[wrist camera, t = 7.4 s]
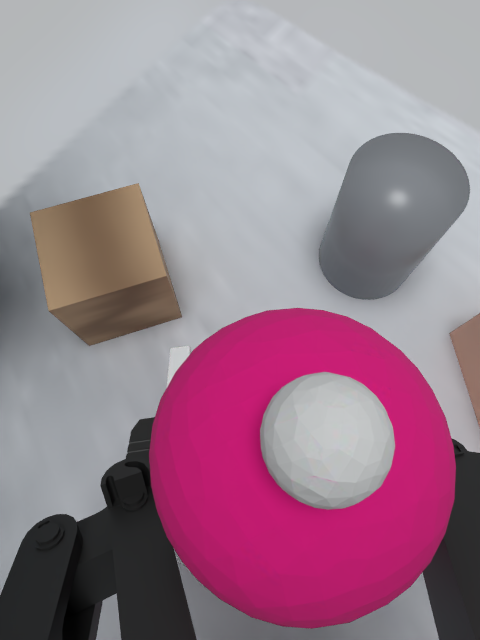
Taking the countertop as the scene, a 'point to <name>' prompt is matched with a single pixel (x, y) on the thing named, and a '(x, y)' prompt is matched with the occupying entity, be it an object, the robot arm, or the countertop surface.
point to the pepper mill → (302, 468)
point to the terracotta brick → (469, 358)
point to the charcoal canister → (391, 213)
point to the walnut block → (104, 265)
